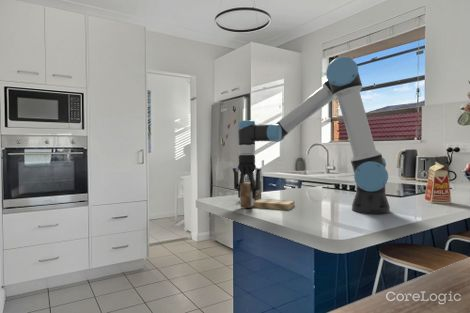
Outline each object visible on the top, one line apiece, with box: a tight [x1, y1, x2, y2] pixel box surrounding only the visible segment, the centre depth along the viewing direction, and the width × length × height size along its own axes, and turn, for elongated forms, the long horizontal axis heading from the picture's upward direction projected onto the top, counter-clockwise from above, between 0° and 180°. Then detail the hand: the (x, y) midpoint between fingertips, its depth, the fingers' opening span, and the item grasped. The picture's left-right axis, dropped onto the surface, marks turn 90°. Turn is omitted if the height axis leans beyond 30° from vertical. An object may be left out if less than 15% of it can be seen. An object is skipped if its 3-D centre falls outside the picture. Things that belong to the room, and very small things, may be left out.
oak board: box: [252, 198, 296, 211], centre depth 152 cm, size 22×10×3 cm, turn 66°
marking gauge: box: [239, 182, 260, 209], centre depth 153 cm, size 4×16×11 cm, turn 156°
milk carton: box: [423, 161, 452, 205], centre depth 161 cm, size 9×9×20 cm
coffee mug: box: [244, 179, 262, 199], centre depth 170 cm, size 13×10×10 cm
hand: (247, 205), depth 148 cm, fingers closed on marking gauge, 4 cm apart
